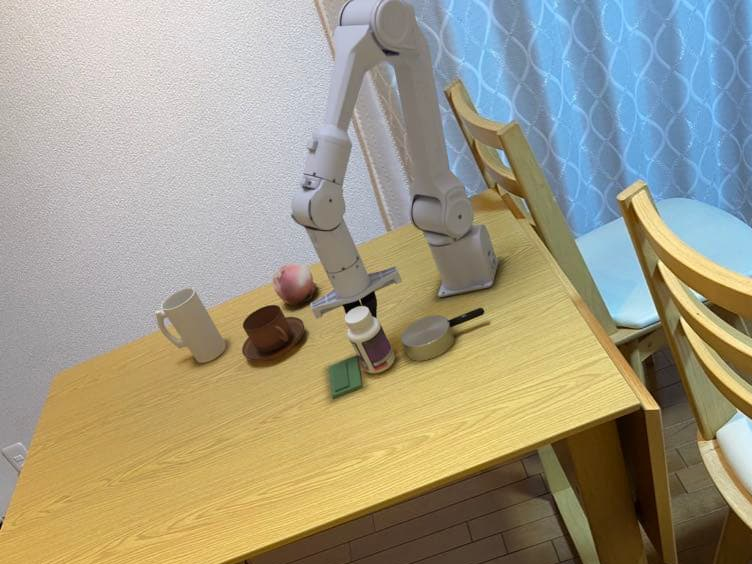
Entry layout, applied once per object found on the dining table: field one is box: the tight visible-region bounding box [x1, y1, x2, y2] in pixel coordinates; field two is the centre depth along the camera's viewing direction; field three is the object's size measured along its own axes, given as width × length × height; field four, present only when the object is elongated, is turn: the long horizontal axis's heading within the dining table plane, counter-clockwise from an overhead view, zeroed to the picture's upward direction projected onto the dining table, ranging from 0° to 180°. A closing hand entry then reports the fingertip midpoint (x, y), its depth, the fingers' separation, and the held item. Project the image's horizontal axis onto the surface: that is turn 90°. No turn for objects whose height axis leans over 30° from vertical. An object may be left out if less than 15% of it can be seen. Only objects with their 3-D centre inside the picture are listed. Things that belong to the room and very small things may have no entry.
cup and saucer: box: [241, 304, 305, 362], centre depth 151 cm, size 12×12×6 cm
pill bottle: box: [344, 306, 396, 374], centre depth 133 cm, size 5×5×10 cm
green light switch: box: [328, 354, 363, 400], centre depth 137 cm, size 5×9×1 cm, turn 7°
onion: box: [272, 263, 318, 306], centre depth 160 cm, size 8×8×7 cm
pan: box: [400, 307, 485, 362], centre depth 134 cm, size 14×8×3 cm, turn 97°
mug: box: [154, 286, 227, 364], centre depth 157 cm, size 10×7×12 cm, turn 84°
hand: (375, 336), depth 138 cm, fingers closed
